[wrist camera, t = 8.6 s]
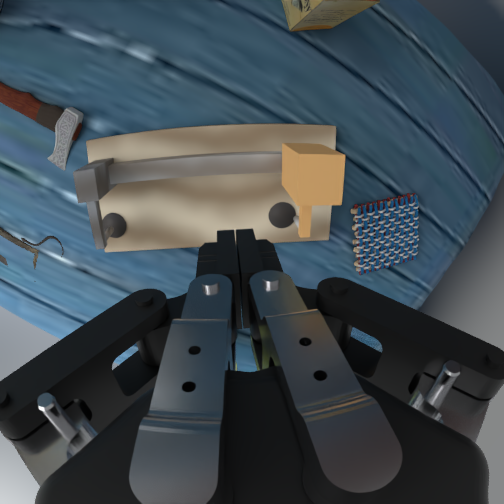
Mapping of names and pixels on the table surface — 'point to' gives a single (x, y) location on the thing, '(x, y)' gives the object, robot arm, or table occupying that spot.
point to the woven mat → (386, 232)
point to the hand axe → (47, 120)
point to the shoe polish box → (322, 12)
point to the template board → (195, 185)
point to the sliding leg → (311, 179)
